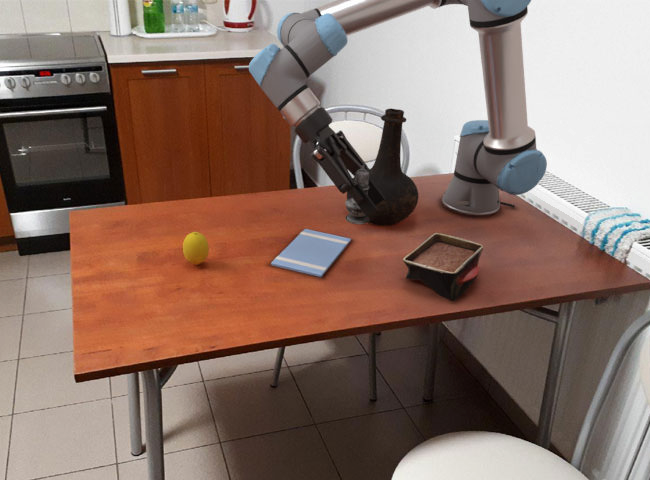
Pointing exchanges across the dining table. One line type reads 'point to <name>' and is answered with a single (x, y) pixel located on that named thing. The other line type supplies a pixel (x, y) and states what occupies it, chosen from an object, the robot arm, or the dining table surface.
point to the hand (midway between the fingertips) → (376, 207)
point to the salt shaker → (352, 207)
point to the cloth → (311, 252)
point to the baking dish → (445, 264)
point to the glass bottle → (391, 175)
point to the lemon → (195, 248)
